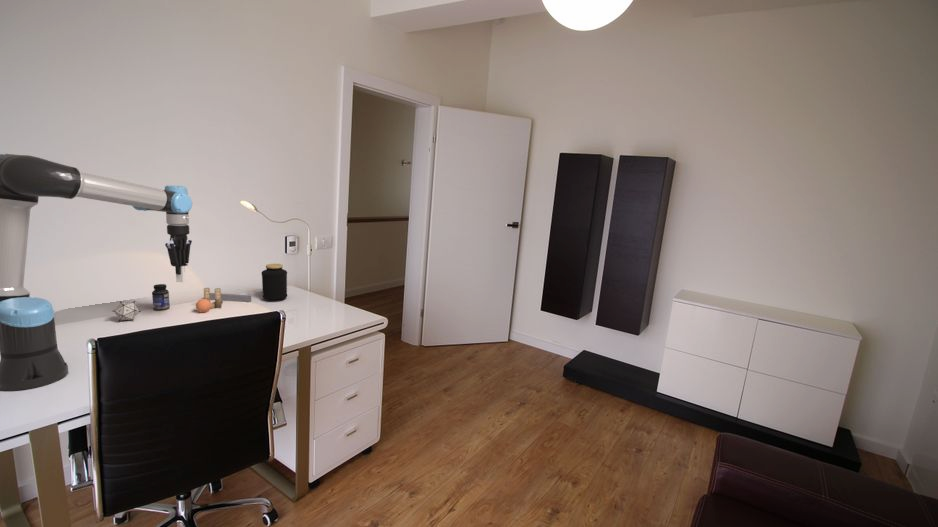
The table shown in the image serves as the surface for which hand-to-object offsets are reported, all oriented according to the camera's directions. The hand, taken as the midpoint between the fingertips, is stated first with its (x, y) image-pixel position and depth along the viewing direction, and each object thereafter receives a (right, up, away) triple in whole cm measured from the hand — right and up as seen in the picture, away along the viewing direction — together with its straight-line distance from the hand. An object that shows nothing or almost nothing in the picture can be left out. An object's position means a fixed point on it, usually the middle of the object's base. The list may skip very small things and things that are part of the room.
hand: (180, 281), depth 179 cm
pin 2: (+2, -13, +23) cm, 27 cm away
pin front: (0, -12, +20) cm, 24 cm away
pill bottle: (-20, -13, +17) cm, 29 cm away
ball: (0, -11, +15) cm, 19 cm away
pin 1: (-3, -13, +23) cm, 26 cm away
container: (+20, -11, +41) cm, 47 cm away
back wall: (0, -11, +35) cm, 37 cm away
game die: (-22, -16, 0) cm, 27 cm away
